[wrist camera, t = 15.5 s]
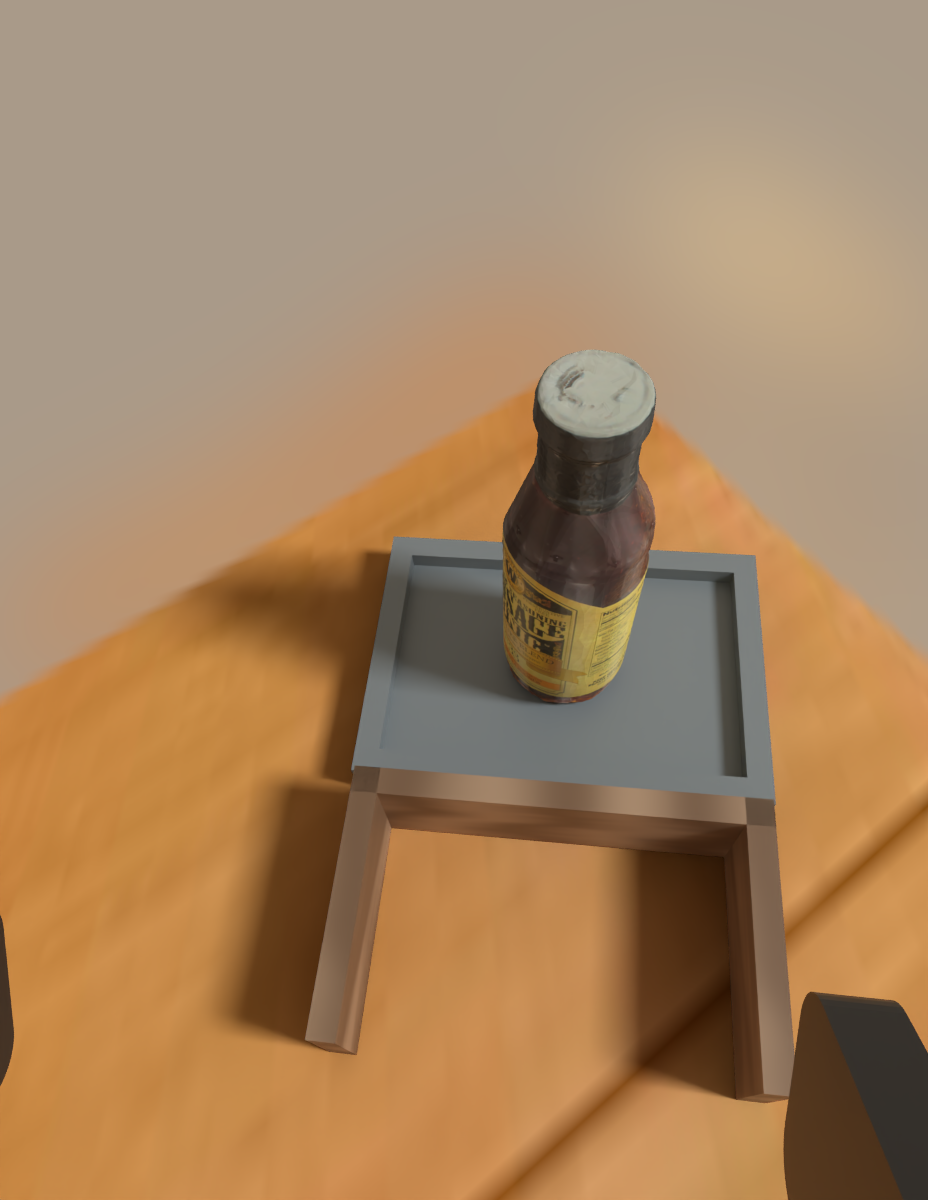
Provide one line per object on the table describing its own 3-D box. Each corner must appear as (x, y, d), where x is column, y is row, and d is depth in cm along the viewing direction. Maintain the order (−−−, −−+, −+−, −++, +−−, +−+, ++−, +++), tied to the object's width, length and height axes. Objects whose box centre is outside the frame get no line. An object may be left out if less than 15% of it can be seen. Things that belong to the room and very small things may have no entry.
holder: (329, 1051, 38) (304, 1040, 34) (371, 802, 44) (354, 765, 39) (765, 1103, 36) (797, 1097, 32) (748, 834, 42) (773, 799, 38)
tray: (358, 785, 44) (351, 769, 42) (398, 558, 52) (394, 536, 50) (764, 819, 42) (775, 804, 40) (746, 577, 49) (755, 555, 48)
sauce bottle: (485, 633, 47) (461, 349, 30) (588, 591, 48) (621, 293, 31) (538, 736, 44) (545, 480, 27) (648, 688, 45) (721, 413, 28)
